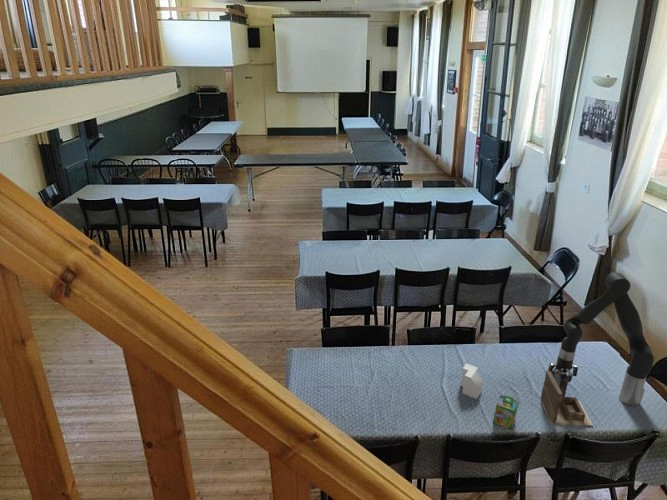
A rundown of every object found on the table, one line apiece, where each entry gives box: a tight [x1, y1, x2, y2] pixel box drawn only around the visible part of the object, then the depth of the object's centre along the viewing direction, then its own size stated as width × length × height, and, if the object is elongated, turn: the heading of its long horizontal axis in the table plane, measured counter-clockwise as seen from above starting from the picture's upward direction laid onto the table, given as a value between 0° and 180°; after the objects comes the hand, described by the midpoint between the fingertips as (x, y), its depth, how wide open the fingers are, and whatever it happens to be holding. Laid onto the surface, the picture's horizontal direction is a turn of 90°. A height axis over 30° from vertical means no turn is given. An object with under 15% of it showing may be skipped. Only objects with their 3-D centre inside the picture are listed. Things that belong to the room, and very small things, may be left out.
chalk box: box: [492, 395, 519, 430], centre depth 241 cm, size 9×9×15 cm
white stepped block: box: [460, 363, 484, 400], centre depth 264 cm, size 11×11×12 cm
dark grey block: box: [554, 370, 569, 397], centre depth 263 cm, size 4×8×12 cm, turn 175°
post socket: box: [540, 370, 594, 427], centre depth 246 cm, size 20×18×19 cm
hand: (560, 380), depth 263 cm, fingers open, 8 cm apart
